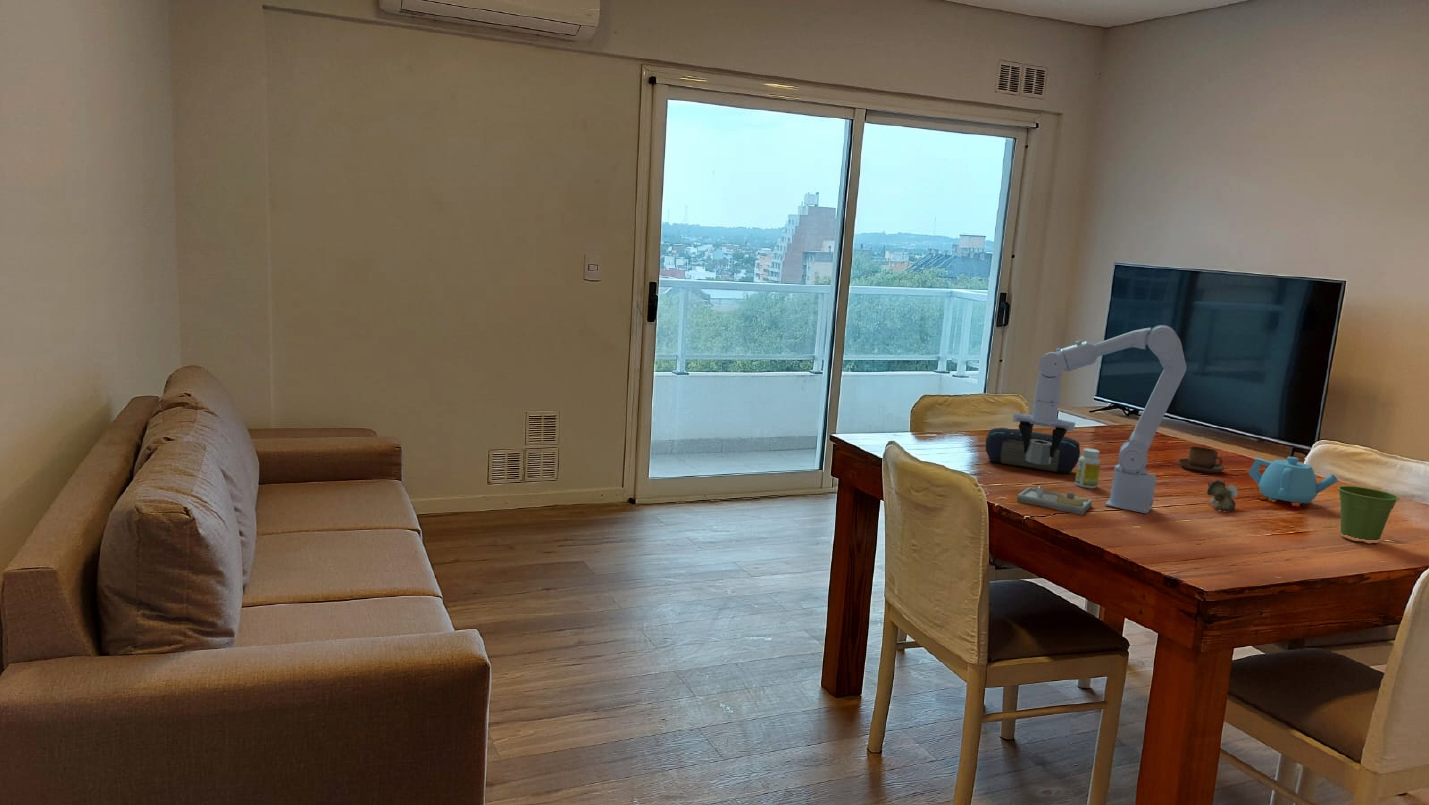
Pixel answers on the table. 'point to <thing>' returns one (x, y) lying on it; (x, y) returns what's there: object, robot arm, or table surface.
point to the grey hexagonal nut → (1038, 452)
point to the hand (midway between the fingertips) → (1039, 454)
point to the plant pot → (1364, 511)
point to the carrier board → (1055, 501)
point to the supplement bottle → (1088, 469)
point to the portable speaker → (1010, 451)
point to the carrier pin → (1039, 492)
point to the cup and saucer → (1202, 460)
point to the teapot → (1289, 480)
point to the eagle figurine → (1222, 495)
